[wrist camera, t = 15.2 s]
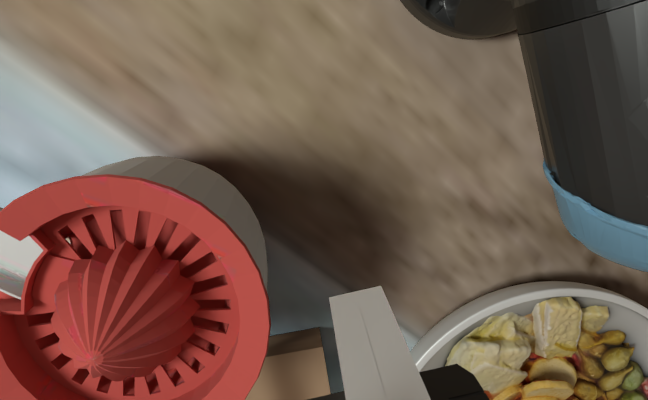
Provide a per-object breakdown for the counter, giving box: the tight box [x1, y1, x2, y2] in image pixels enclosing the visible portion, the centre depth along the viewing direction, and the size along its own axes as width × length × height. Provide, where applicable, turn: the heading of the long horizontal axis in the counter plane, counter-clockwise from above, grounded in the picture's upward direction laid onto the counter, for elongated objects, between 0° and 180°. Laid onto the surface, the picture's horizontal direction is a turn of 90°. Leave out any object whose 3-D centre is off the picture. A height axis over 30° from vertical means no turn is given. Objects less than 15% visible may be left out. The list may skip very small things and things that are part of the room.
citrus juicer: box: [0, 156, 271, 400], centre depth 32 cm, size 16×17×20 cm
